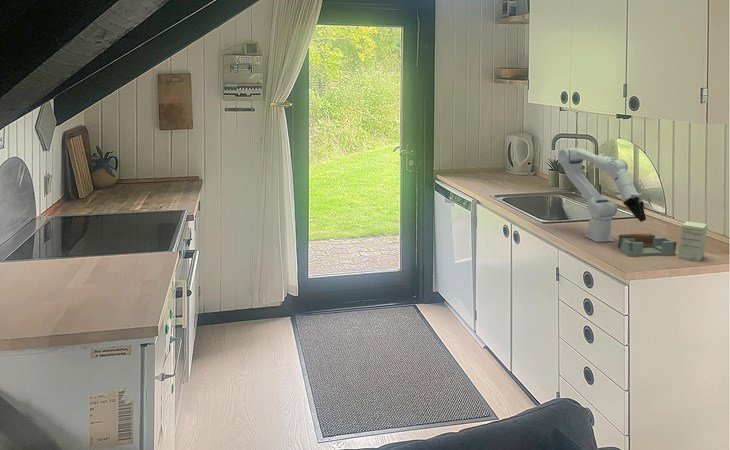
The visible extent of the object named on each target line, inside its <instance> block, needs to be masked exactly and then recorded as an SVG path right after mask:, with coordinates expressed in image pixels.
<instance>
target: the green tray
mask: <svg viewBox="0 0 730 450" xmlns="http://www.w3.org/2000/svg"><path fill="white" fill-rule="evenodd" d="M676 248H677V241H676V240H673V239H671V238H668V237H666V236H665V237H663V236H662V237H660V236H659V237H655V238H653V245H652V248H643V243H642V242H635V239H634V238H624V239H621V244H620V248H619V252H620V253H622V254H624V255H626V256H628V257H648V256H649V257H651V256H676V251H677V250H676Z"/></svg>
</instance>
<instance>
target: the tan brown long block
mask: <svg viewBox="0 0 730 450" xmlns="http://www.w3.org/2000/svg"><path fill="white" fill-rule="evenodd" d="M624 238H634V239H635V242H642V243H643V248H652V245H653V238H656V235H655V234H652V233H633V234H632V233H628V234H626V233H625V234H618V243H617V247H618V248H619V249H620V244H621V239H624Z"/></svg>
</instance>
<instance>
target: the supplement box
mask: <svg viewBox="0 0 730 450" xmlns="http://www.w3.org/2000/svg"><path fill="white" fill-rule="evenodd" d="M708 225H709V224H708V223H702V222H695V221H694V222H693V221H685V222H684V223H683V224H682V225H681V232H680V241H679V249H678V259H679V258H680V259H684V260H689V261H697V262H700V261H701V260H702V259H703V258H704V256H705V248H706V242H707V240H706V239H707V231H708Z"/></svg>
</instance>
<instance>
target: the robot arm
mask: <svg viewBox="0 0 730 450" xmlns="http://www.w3.org/2000/svg"><path fill="white" fill-rule="evenodd" d="M557 153H558V155H557V161H558V163H559V164H560V165H561V166H562V169H563V171H564V173H565V175H566V177H567V178H568V179H569V181H570V183H572V184H573V185H574V186H575V188H576V189H577V190H578V192H580V194H581V195H582V196H583V198H585V200H586V201H587V204H586V208H587V209H588V212H589V214H590V219H589V221H588V226H587V227H588V229H587V234H585V237H587V238H588V239H590V240H592V241H594V242H595V243H596V242H597V243H600V242H615V239H613V238H611V233H612V221H613V219H614V216H616V215H617V213H618V206H617V203H615V202H614V201H612V200H611V199H609V198H608V197H606V196H604V195H601V194H600V193H599V191H598V190H597V189H596V188H595V187H594V186H593V184H592V183H591V182H590V181H589V179H588V178H587V177H586V176H585V175H584V174H583V172H582V171H581V169H582V167H583V163H584V161H586V162H588V163H592V164H593V166H594V167H595V168H597V169H599V170H602V171H604V172H605V173H606V174H607V175H608V176H609V177H610V179H611V180H613V181H614V184H615V186H616V188H617V190H618V192H619V194H620V196H621V198H622V201H623V205H625V206H626V207H627V208H628V210H630V212H631V213H632V214H633V216H634V217H635V219H637V220H638V221H640V223H642V222H644V221H646V220H647V218H646V214H645V208H644V206H645V203H644V201H640V197H642V196H643V193H642V192H638V191H637V188H636V187H635V185H634V183H633V180H632V178H631V177H630V174H629V173H628V170H629V168H628V166H629V165H628V163H627V161H625V160H624V159H616V157H610V156H607V153H600V154H595V153H593V152H591V151H589V150H588V149H587V150H586V149H585V148H582V147H580V146H579V147H570V148H569V147H568V148H567V147H566V148H565V147H562V148H561V149H560V150H559V151H558V152H557Z"/></svg>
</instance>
